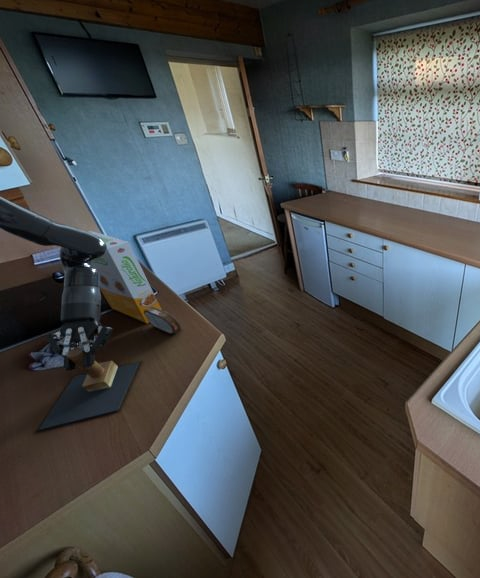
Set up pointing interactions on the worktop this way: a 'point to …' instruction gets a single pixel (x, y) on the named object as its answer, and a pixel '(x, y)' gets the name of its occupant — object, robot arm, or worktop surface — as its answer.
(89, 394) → the mat
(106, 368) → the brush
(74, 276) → the robot arm
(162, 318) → the tin
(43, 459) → the worktop surface
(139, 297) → the cereal box
